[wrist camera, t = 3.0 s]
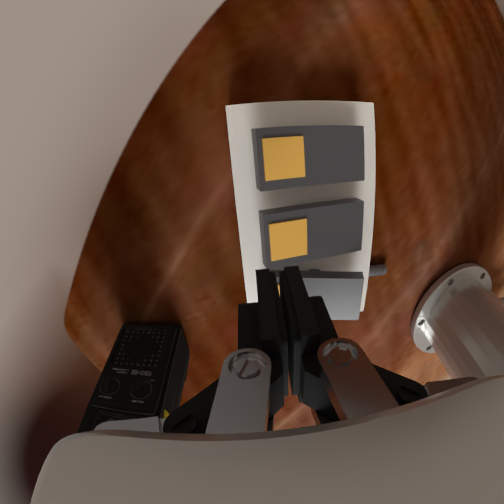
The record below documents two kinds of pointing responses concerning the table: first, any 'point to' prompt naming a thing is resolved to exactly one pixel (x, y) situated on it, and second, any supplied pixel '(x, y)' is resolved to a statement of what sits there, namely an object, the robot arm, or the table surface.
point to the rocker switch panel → (254, 200)
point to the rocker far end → (307, 155)
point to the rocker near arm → (334, 291)
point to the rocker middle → (310, 231)
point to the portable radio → (140, 375)
